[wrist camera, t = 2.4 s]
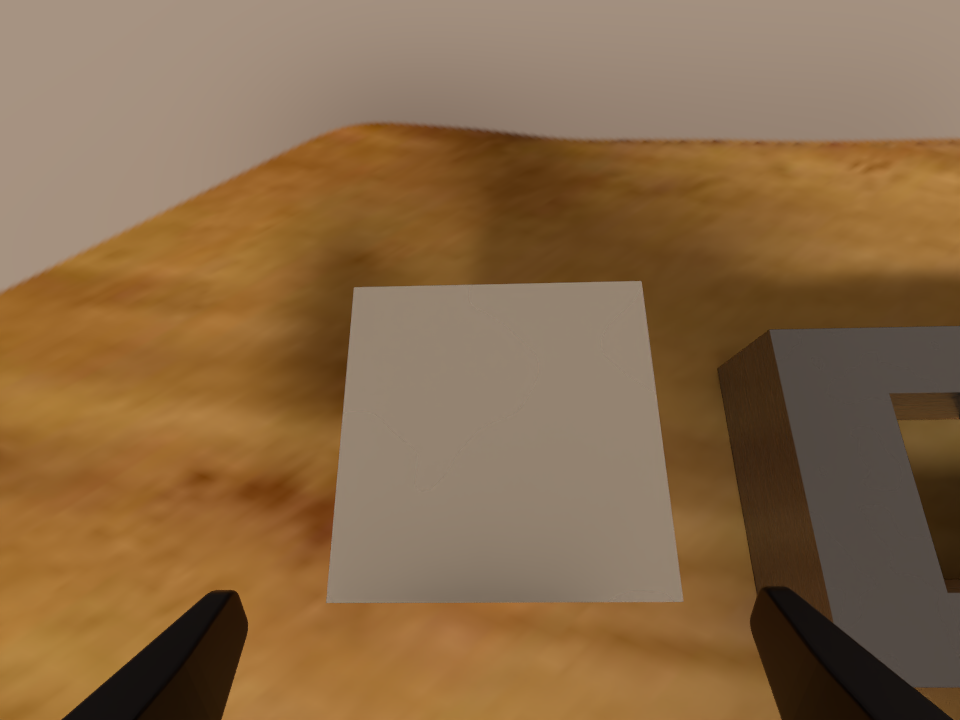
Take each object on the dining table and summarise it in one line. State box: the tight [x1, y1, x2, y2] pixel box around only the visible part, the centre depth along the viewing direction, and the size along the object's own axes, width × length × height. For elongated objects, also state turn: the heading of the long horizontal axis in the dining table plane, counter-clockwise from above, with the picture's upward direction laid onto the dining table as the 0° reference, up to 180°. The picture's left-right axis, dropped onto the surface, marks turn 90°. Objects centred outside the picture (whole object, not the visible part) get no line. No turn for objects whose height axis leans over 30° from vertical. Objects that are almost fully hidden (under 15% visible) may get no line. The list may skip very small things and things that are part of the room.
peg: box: [326, 281, 683, 603], centre depth 12 cm, size 4×4×13 cm
